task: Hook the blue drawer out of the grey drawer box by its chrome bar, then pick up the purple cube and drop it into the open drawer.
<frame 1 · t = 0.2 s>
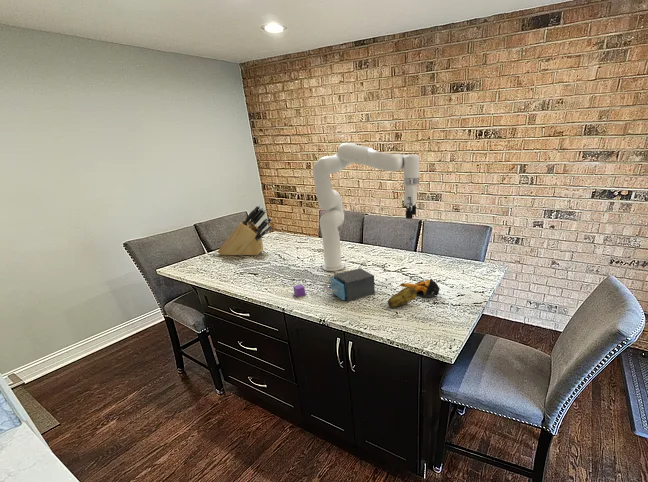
hand: (410, 216, 170), 31 cm above the worktop, tool pointing down, fingers open, 9 cm apart
purple cube: (299, 294, 160), on the worktop
knife block: (248, 253, 222), on the worktop
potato: (402, 305, 148), on the worktop
grey drawer box: (354, 292, 161), on the worktop
blue drawer: (344, 286, 156), point 5 cm above the worktop, slide at 1.0 cm
fried shrimp in bowl: (420, 294, 158), on the worktop
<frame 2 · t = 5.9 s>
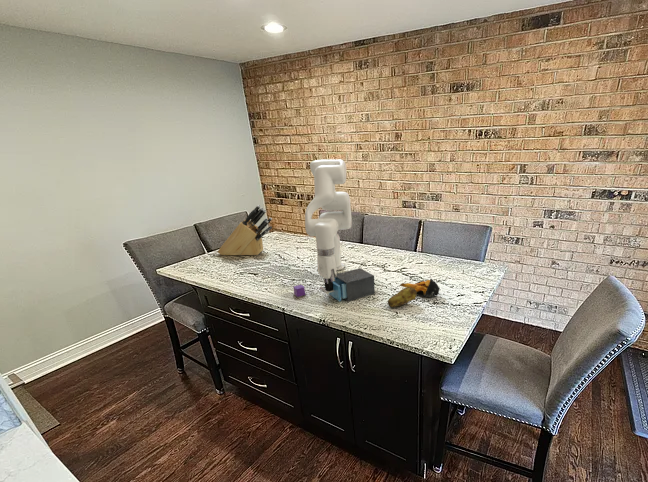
hand: (329, 290, 152), 5 cm above the worktop, tool pointing down, fingers closed
blue drawer: (341, 287, 155), point 5 cm above the worktop, slide at 2.9 cm
everything else where it was.
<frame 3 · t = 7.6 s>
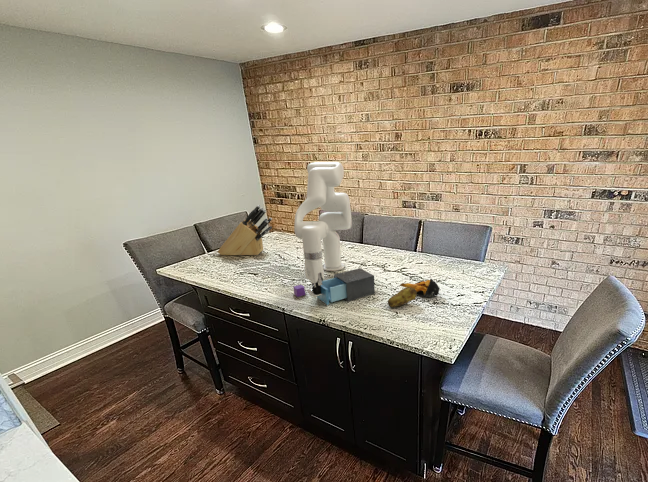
hand: (317, 294, 149), 4 cm above the worktop, tool pointing down, fingers closed
blue drawer: (329, 290, 152), point 5 cm above the worktop, slide at 8.8 cm
everything else where it was.
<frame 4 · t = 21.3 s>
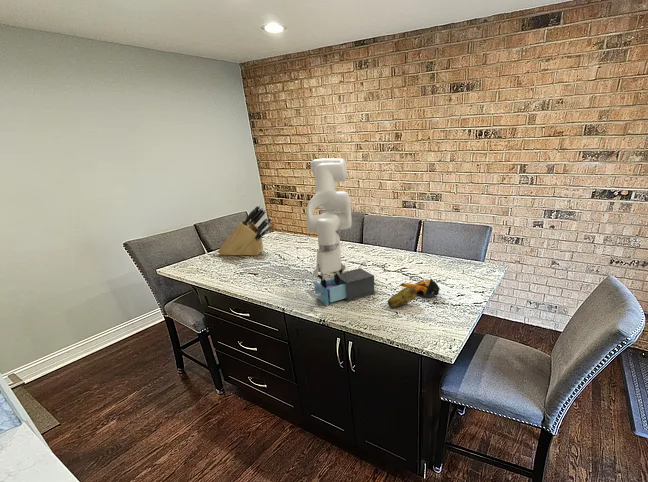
hand: (330, 285, 152), 7 cm above the worktop, tool pointing down, fingers open, 5 cm apart
purple cube: (331, 295, 154), point 2 cm above the worktop, touching blue drawer
blue drawer: (328, 290, 152), point 5 cm above the worktop, slide at 9.1 cm, touching gripper, purple cube
everything else where it was.
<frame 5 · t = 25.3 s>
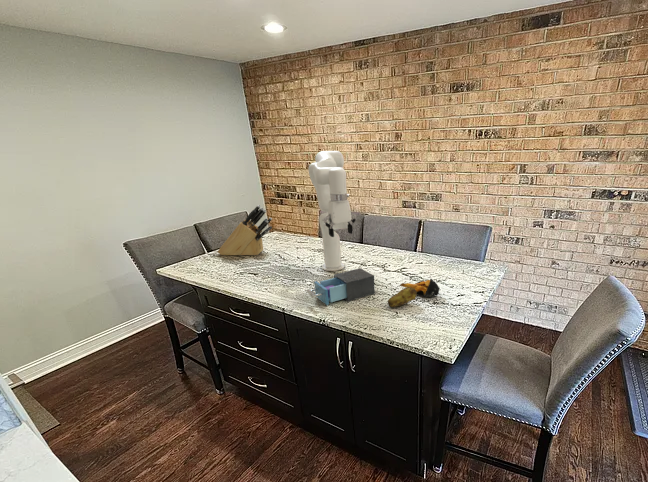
hand: (341, 234, 158), 26 cm above the worktop, tool pointing down, fingers open, 9 cm apart
blue drawer: (329, 290, 152), point 5 cm above the worktop, slide at 9.0 cm, touching purple cube
everything else where it was.
at the end: blue drawer slide at 9.0 cm; purple cube inside the target area in the grey drawer box (7.2 cm from its centre), point 2.0 cm above the grey drawer box's base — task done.
